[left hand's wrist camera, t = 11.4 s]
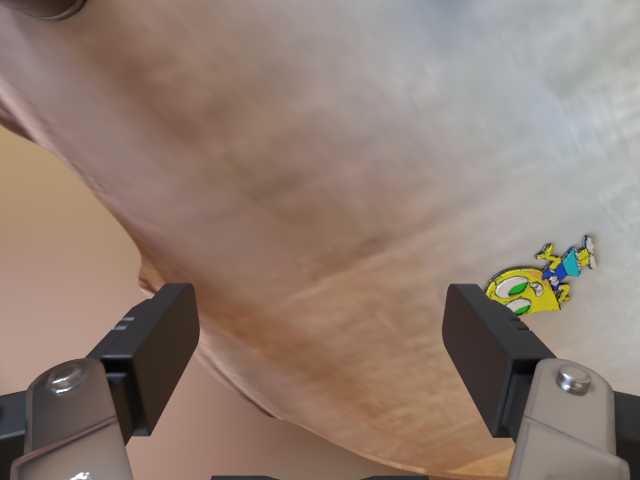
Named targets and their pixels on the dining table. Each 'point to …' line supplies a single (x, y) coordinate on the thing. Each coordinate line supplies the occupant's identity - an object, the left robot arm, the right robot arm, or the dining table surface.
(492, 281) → the toy
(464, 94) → the dining table surface
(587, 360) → the dining table surface
